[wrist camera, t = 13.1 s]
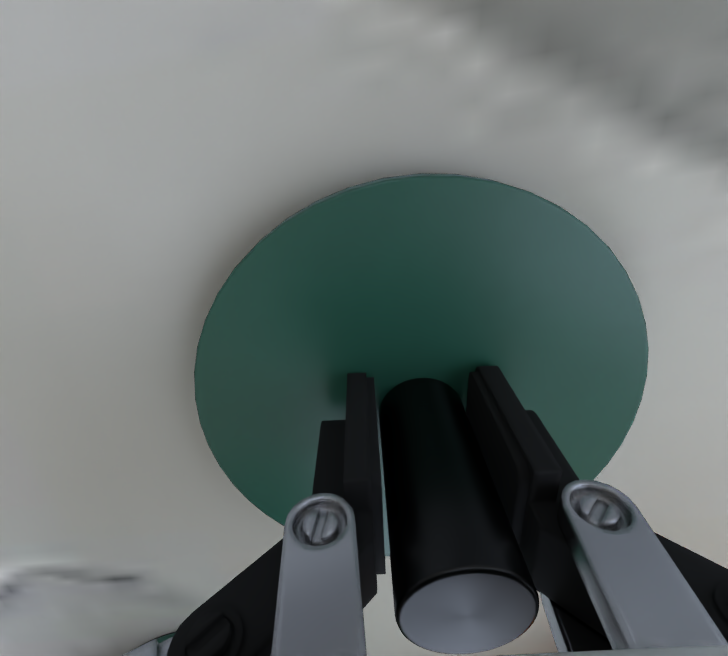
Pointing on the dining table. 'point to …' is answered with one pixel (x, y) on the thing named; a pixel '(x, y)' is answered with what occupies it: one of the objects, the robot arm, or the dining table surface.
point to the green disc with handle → (423, 373)
